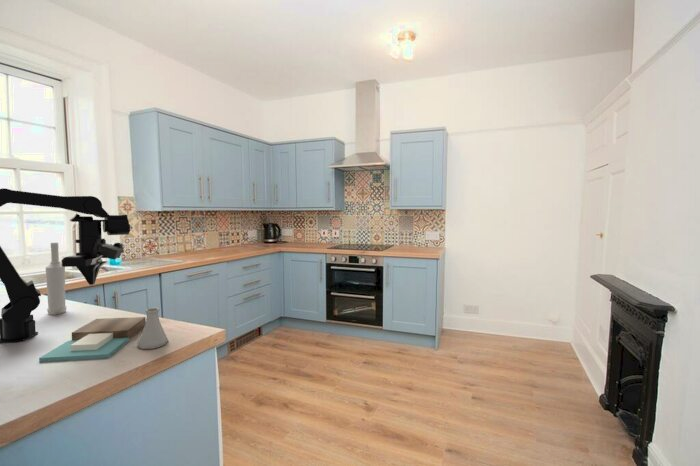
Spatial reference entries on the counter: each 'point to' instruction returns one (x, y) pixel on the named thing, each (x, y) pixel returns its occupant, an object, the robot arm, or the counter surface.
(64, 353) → the teal mat
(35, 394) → the counter surface
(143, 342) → the flask
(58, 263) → the bottle
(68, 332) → the counter surface
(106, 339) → the cream tile
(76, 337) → the walnut deck
